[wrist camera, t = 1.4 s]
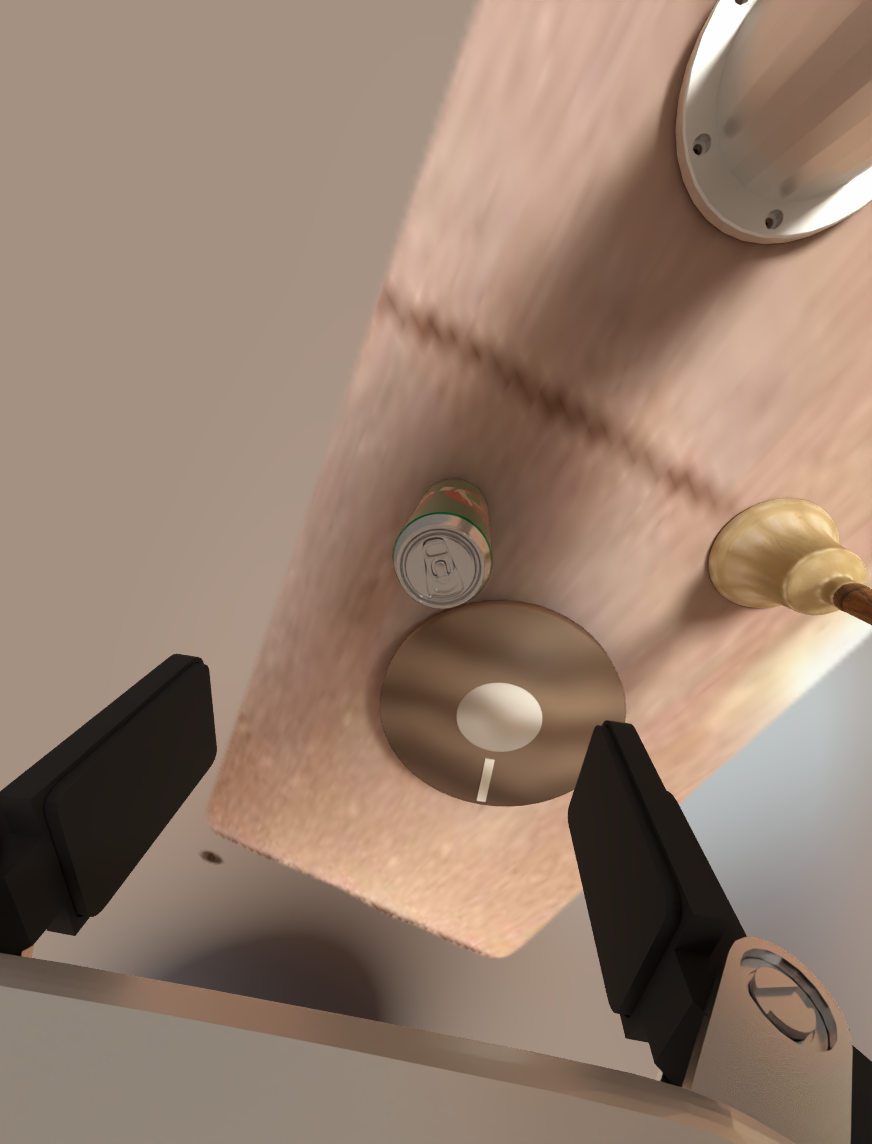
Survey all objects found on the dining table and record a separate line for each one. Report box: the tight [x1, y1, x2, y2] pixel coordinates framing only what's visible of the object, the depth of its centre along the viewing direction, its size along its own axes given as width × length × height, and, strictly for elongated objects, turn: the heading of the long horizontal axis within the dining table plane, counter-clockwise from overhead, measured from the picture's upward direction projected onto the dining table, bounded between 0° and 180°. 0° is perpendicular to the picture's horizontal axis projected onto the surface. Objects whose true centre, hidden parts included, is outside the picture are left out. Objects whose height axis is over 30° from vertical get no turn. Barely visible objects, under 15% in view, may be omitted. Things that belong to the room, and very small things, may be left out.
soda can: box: [393, 479, 493, 609], centre depth 26 cm, size 5×5×12 cm
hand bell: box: [708, 498, 872, 625], centre depth 23 cm, size 8×8×16 cm
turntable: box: [380, 600, 626, 806], centre depth 35 cm, size 20×20×2 cm
